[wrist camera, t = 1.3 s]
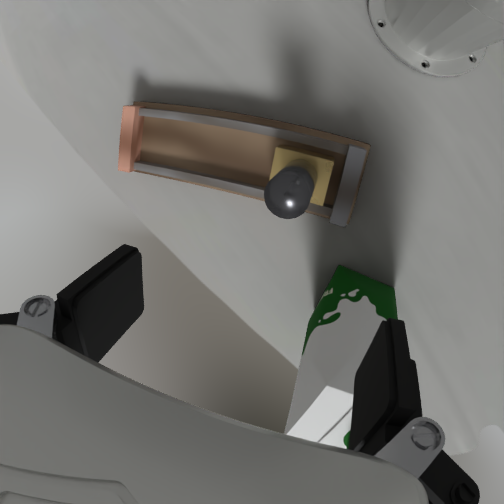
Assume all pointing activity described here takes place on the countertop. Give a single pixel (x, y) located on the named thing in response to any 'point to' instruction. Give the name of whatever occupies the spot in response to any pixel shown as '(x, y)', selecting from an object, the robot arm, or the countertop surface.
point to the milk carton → (336, 355)
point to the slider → (297, 181)
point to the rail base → (233, 152)
